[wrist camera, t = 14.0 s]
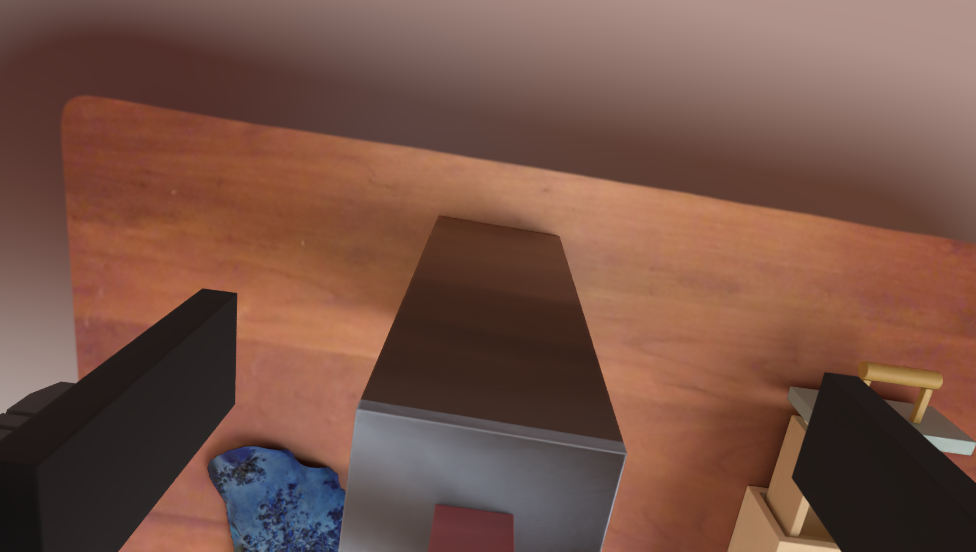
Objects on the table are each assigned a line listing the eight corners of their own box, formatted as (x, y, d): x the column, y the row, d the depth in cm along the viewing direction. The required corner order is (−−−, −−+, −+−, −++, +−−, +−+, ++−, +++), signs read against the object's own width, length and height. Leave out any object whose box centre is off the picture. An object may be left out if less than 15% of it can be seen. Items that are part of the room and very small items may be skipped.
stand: (438, 215, 55) (355, 408, 24) (559, 236, 55) (627, 453, 25) (421, 328, 58) (328, 625, 27) (536, 347, 58) (571, 663, 28)
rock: (251, 599, 67) (244, 614, 65) (193, 450, 62) (184, 461, 60) (395, 573, 66) (392, 588, 64) (347, 420, 61) (343, 430, 59)
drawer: (805, 337, 56) (837, 367, 51) (950, 358, 57) (998, 390, 51) (746, 526, 62) (769, 572, 57) (878, 544, 62) (914, 592, 57)
